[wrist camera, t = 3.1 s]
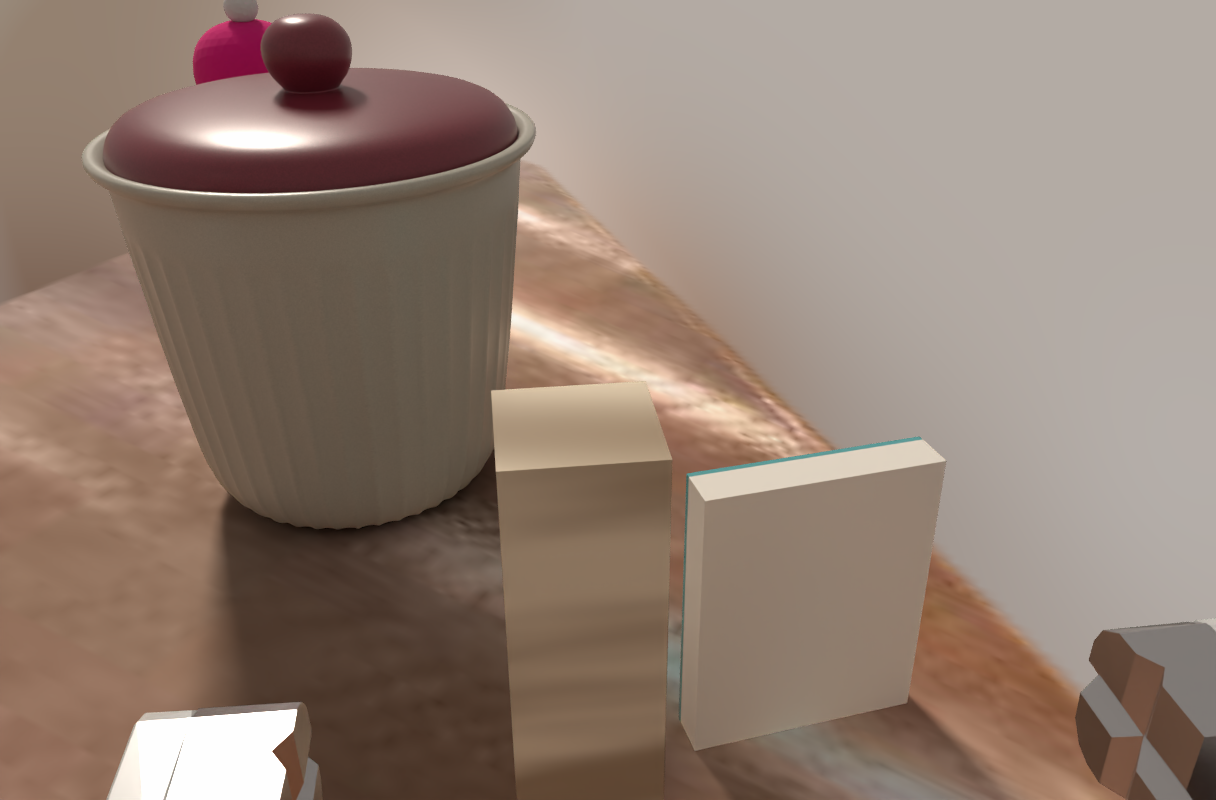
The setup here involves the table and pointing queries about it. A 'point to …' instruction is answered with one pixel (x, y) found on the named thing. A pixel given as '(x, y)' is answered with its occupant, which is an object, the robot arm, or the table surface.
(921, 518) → the tile
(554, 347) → the table surface
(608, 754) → the block
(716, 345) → the table surface
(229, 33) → the pepper mill
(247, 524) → the table surface
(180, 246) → the canister
